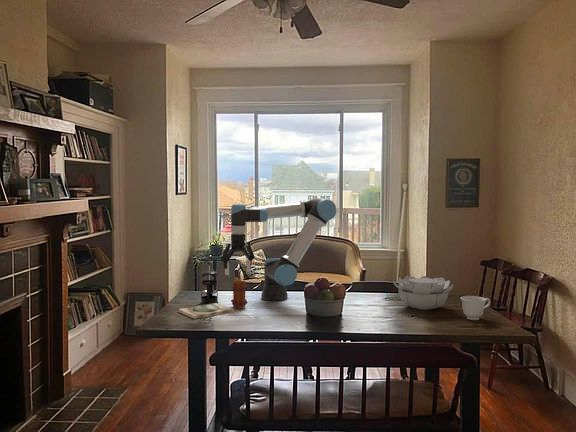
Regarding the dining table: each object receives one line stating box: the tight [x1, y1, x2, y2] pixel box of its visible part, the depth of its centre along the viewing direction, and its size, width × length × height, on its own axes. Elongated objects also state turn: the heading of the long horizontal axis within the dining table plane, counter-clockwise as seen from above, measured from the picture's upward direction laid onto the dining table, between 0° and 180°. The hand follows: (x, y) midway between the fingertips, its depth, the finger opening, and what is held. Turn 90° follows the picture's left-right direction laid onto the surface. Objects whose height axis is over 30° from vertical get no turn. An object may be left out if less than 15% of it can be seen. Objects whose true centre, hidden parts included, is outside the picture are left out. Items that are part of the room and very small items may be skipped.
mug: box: [230, 277, 248, 310], centre depth 266 cm, size 15×8×15 cm, turn 16°
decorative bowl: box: [392, 275, 454, 311], centre depth 266 cm, size 30×30×15 cm
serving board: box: [178, 303, 234, 320], centre depth 255 cm, size 22×17×2 cm
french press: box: [200, 260, 219, 305], centre depth 275 cm, size 12×9×23 cm
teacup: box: [460, 295, 492, 321], centre depth 244 cm, size 12×15×10 cm
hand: (237, 273), depth 265 cm, fingers open, 13 cm apart
